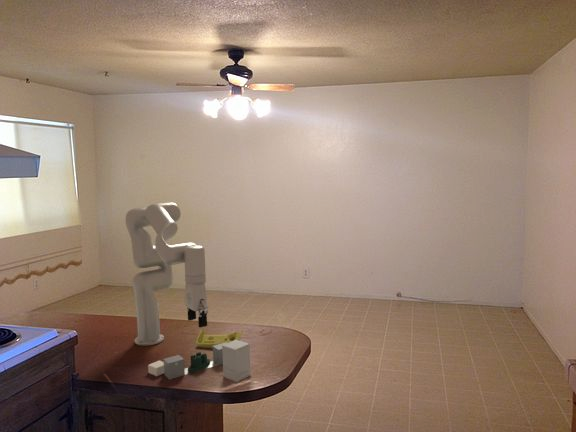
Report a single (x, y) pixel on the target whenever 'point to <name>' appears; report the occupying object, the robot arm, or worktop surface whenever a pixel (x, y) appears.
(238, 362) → the supplement box
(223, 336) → the plastic component
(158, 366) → the block
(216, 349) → the block
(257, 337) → the worktop surface
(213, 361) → the rail
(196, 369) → the mount
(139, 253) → the robot arm
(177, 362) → the block
